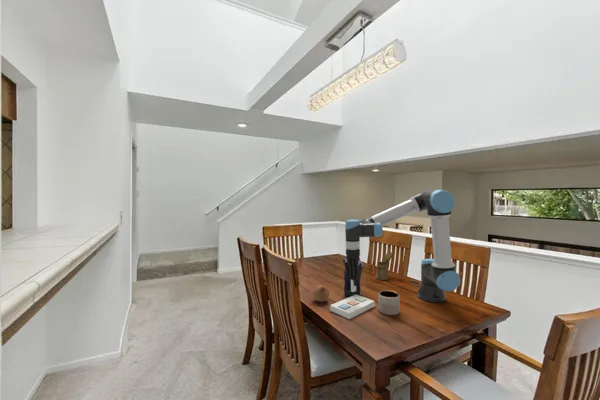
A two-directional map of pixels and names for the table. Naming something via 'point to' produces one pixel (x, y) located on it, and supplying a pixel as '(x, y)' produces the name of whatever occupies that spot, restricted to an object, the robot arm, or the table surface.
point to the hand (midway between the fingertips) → (353, 290)
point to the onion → (321, 293)
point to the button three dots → (352, 303)
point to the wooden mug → (383, 268)
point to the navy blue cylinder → (347, 287)
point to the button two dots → (360, 299)
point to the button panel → (352, 307)
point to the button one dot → (344, 306)
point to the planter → (389, 302)
